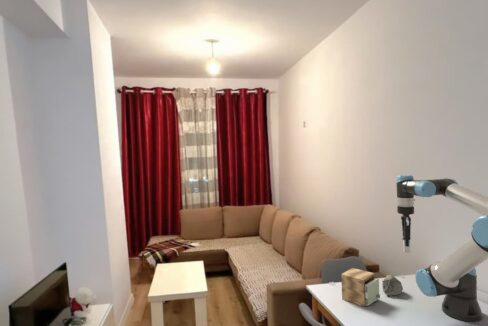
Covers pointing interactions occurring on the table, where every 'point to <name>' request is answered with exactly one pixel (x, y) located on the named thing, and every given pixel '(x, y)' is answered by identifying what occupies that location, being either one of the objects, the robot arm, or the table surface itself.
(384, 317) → the table surface
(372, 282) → the door
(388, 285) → the stone
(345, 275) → the cabinet
